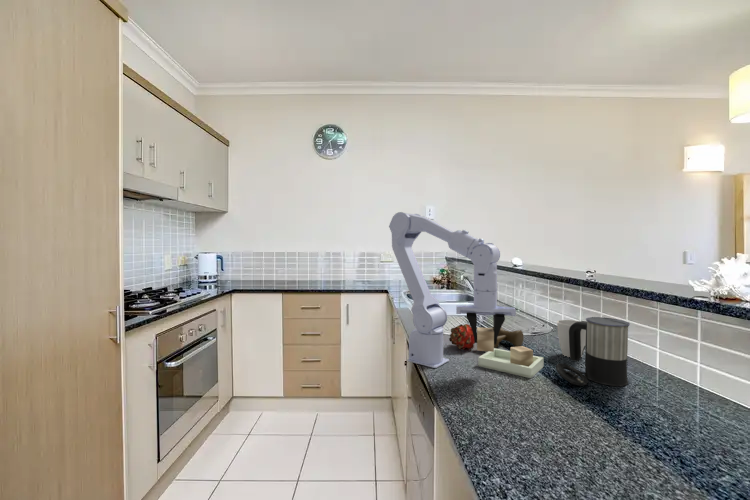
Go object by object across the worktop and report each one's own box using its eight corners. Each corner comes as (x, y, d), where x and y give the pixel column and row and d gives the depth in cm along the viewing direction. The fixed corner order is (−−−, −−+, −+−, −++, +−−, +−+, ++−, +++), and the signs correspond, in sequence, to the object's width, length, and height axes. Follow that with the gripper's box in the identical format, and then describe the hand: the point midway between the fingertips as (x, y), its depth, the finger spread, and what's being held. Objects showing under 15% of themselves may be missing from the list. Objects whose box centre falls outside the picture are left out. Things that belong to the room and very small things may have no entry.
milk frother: (632, 379, 88) (632, 320, 88) (620, 399, 77) (621, 332, 77) (569, 365, 98) (569, 312, 98) (550, 382, 87) (551, 322, 87)
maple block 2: (520, 370, 93) (520, 351, 93) (510, 365, 97) (510, 347, 97) (532, 368, 94) (532, 350, 94) (522, 364, 98) (522, 346, 98)
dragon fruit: (454, 358, 110) (466, 353, 120) (477, 344, 107) (487, 341, 117) (440, 333, 114) (453, 331, 124) (462, 319, 110) (473, 318, 120)
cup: (592, 360, 102) (592, 326, 102) (561, 359, 104) (561, 325, 104) (581, 352, 110) (582, 320, 110) (553, 350, 112) (553, 319, 111)
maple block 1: (477, 350, 90) (477, 330, 90) (476, 346, 94) (476, 327, 94) (493, 351, 89) (493, 331, 89) (492, 347, 93) (492, 328, 93)
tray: (478, 366, 98) (478, 357, 98) (493, 356, 107) (493, 348, 107) (531, 378, 89) (531, 368, 89) (543, 366, 98) (543, 357, 98)
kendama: (470, 350, 115) (504, 337, 128) (497, 358, 108) (530, 343, 120) (470, 331, 115) (504, 321, 127) (497, 338, 107) (530, 326, 120)
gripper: (513, 288, 94) (513, 340, 94) (456, 287, 97) (456, 336, 97) (517, 292, 87) (516, 347, 87) (456, 290, 90) (456, 343, 91)
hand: (485, 342), depth 92 cm, fingers closed on maple block 1, 4 cm apart
